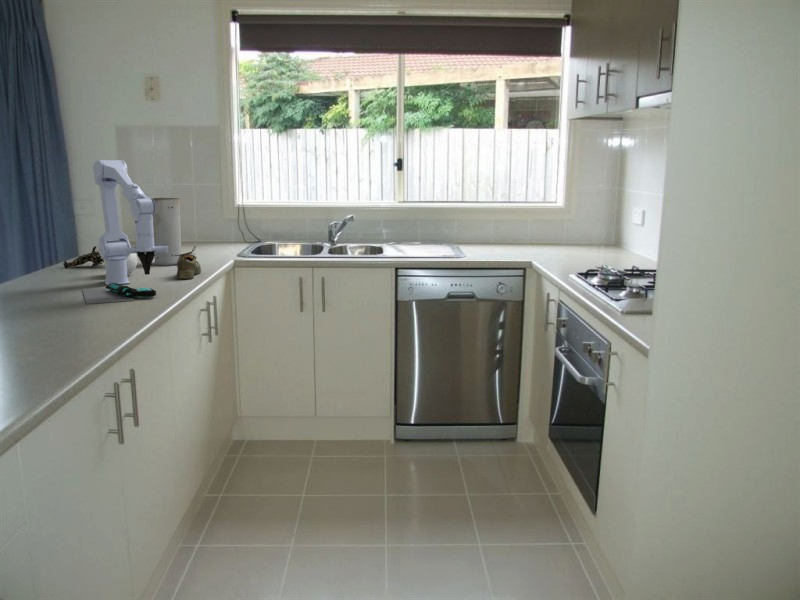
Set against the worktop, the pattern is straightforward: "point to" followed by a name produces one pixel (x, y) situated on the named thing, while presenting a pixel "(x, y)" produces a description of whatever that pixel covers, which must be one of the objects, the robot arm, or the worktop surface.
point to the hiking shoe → (187, 266)
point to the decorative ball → (130, 262)
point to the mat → (103, 296)
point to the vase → (167, 230)
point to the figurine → (86, 259)
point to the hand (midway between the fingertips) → (147, 274)
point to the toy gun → (131, 291)
